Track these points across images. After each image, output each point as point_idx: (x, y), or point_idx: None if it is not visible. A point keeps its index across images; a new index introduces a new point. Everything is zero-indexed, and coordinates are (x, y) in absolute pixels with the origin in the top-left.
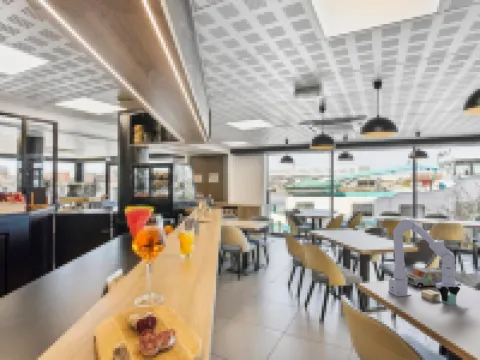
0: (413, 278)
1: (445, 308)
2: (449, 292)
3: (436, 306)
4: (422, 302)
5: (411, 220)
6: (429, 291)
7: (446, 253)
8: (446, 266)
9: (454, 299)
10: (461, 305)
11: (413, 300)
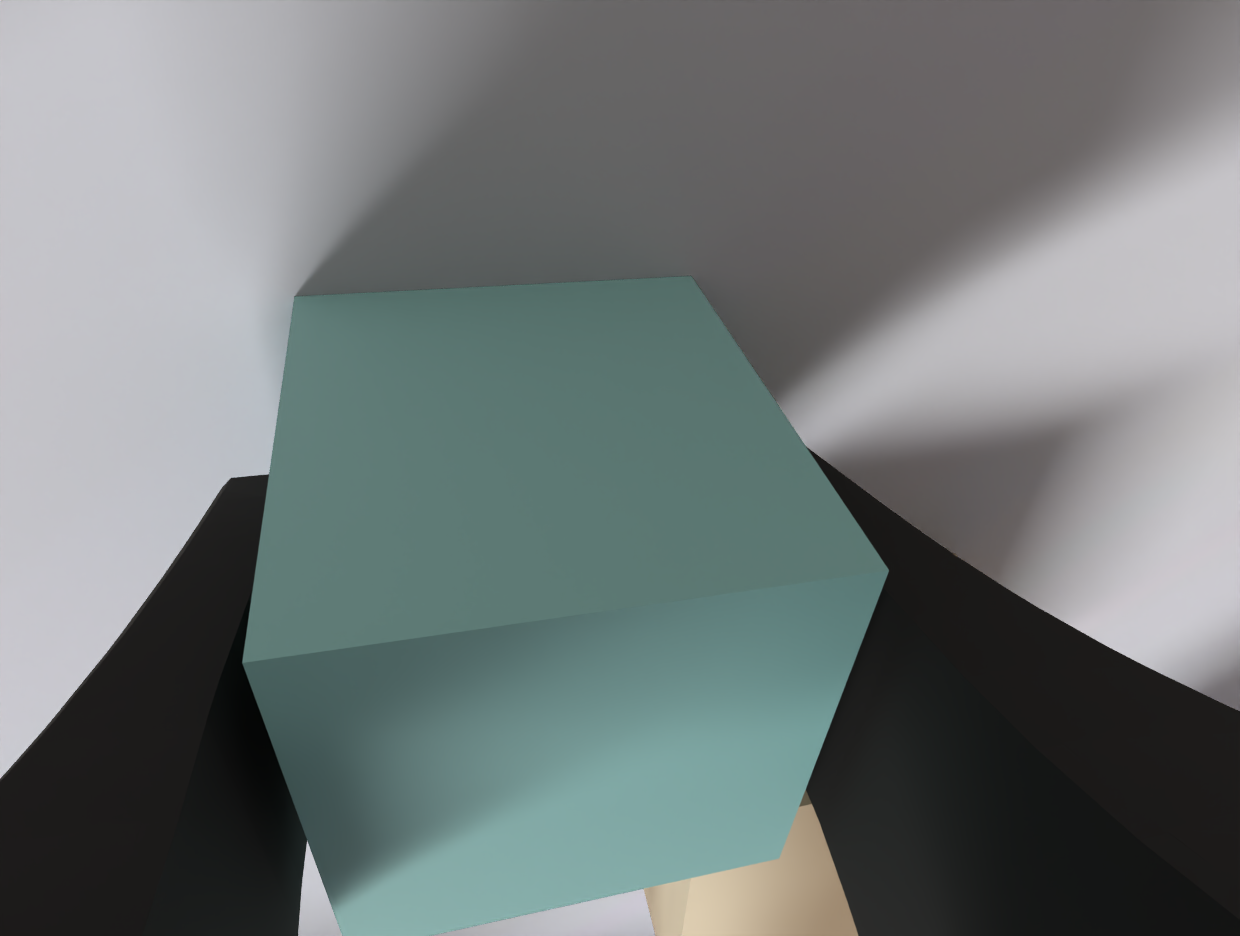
0: None
1: (1199, 23)
2: (353, 905)
3: (1226, 261)
4: (1187, 533)
5: None
6: (824, 913)
7: None
8: None
9: (397, 432)
10: (104, 117)
11: (1207, 626)
